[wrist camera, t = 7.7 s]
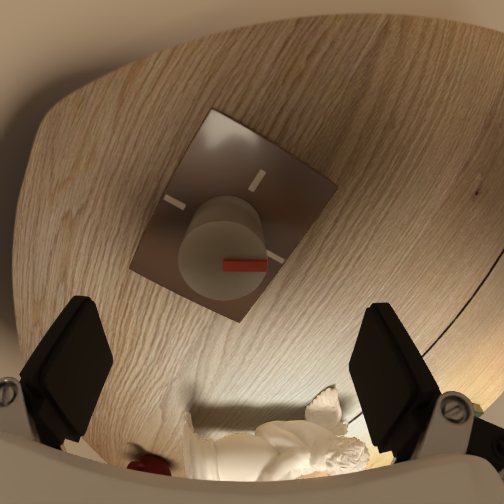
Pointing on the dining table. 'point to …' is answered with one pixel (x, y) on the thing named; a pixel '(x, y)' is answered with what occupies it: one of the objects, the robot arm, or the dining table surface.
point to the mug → (150, 465)
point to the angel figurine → (278, 448)
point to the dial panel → (238, 185)
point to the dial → (224, 249)
